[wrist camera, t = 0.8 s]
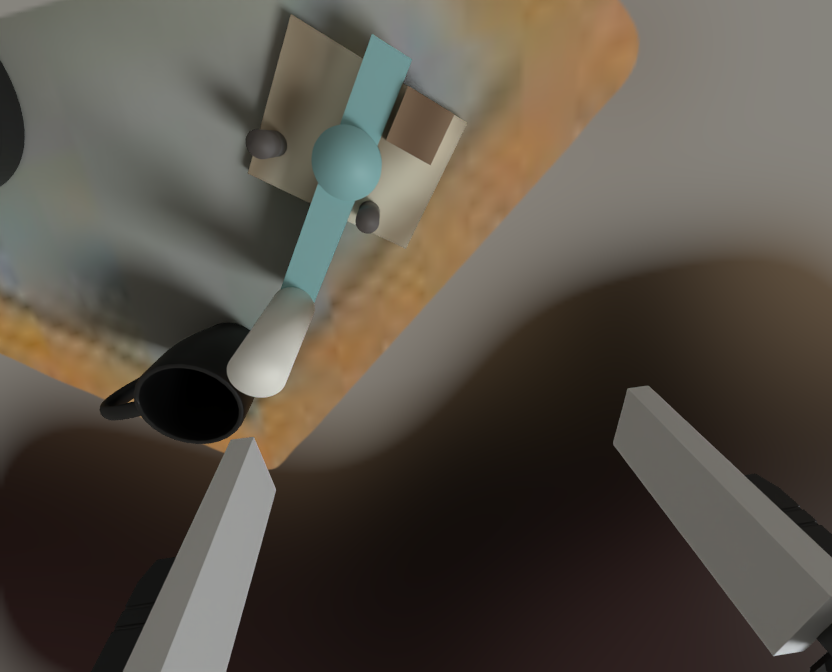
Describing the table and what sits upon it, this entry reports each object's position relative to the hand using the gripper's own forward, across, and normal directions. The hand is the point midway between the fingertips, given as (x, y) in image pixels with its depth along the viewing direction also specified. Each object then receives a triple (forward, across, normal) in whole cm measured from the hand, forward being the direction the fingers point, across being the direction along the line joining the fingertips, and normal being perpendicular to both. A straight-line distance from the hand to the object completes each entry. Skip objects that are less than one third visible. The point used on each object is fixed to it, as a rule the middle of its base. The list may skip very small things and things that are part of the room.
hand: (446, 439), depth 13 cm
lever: (+22, -5, +5) cm, 23 cm away
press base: (+24, -3, +9) cm, 26 cm away
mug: (+24, -20, -8) cm, 33 cm away
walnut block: (+23, +2, +10) cm, 25 cm away
